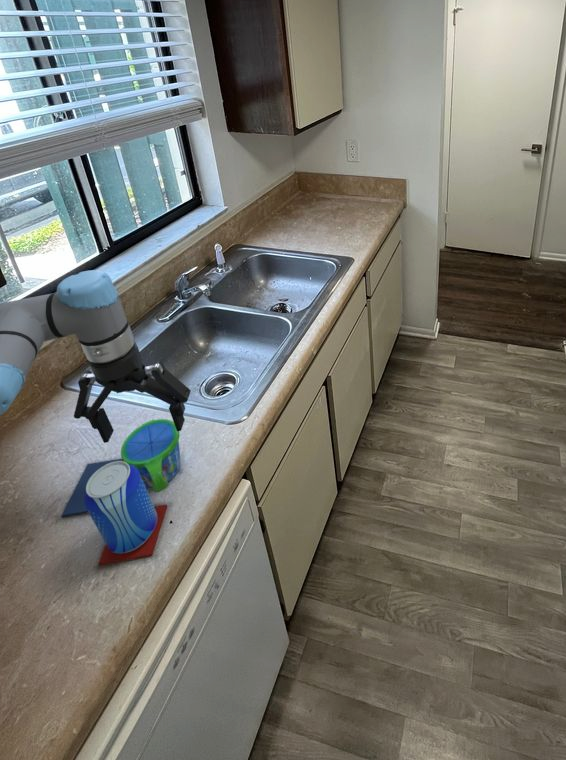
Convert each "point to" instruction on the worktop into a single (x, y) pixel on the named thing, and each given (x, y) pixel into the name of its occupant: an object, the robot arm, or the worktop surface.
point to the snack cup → (154, 452)
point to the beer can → (120, 506)
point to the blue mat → (82, 490)
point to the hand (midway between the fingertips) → (145, 431)
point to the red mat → (141, 551)
